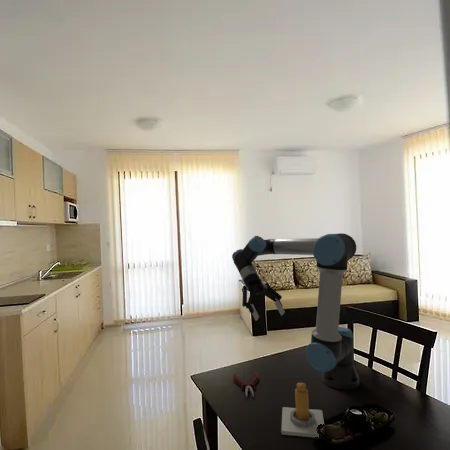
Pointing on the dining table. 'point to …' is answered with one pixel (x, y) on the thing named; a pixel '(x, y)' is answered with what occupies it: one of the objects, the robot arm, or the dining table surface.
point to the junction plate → (301, 423)
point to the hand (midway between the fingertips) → (270, 316)
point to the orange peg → (302, 402)
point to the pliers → (244, 385)
